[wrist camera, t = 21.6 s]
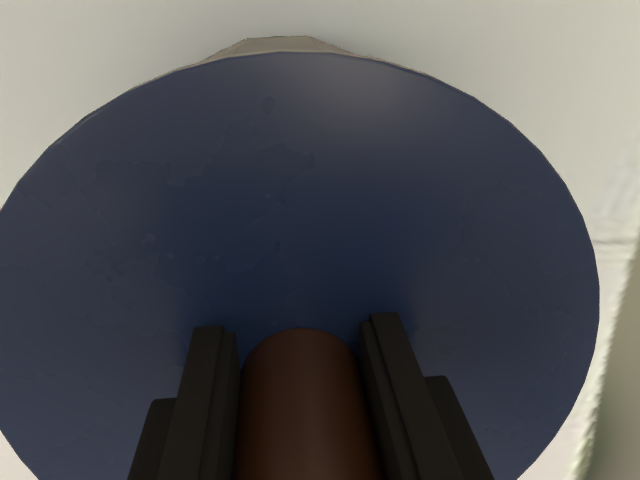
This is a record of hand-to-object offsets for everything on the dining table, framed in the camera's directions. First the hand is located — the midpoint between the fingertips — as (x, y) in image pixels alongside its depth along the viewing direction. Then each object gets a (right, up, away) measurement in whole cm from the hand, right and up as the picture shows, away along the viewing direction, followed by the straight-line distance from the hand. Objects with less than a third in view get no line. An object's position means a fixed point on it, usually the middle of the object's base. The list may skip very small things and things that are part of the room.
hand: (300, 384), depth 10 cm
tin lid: (0, 0, +1) cm, 1 cm away
